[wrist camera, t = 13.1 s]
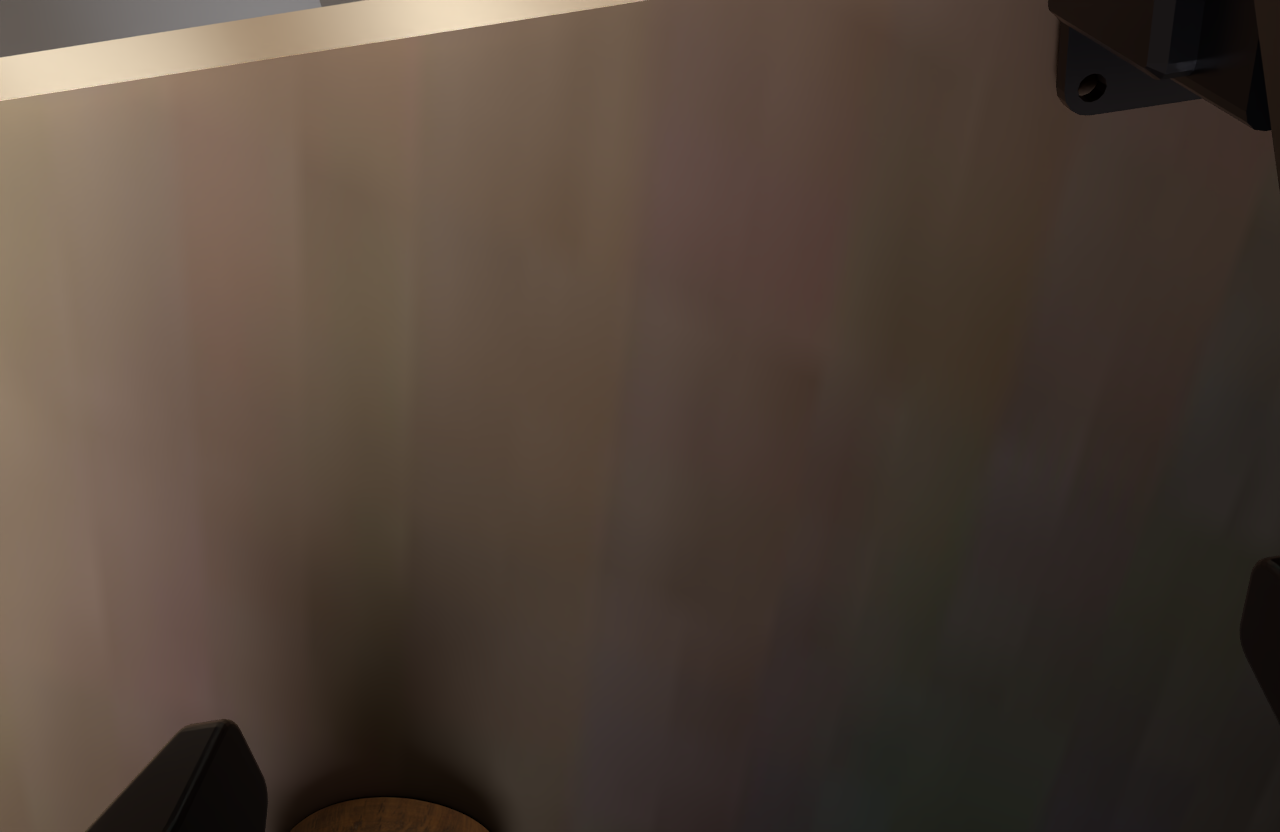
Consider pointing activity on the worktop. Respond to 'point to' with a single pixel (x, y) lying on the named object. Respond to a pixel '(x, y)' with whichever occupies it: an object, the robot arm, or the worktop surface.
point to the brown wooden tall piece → (388, 817)
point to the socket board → (216, 33)
